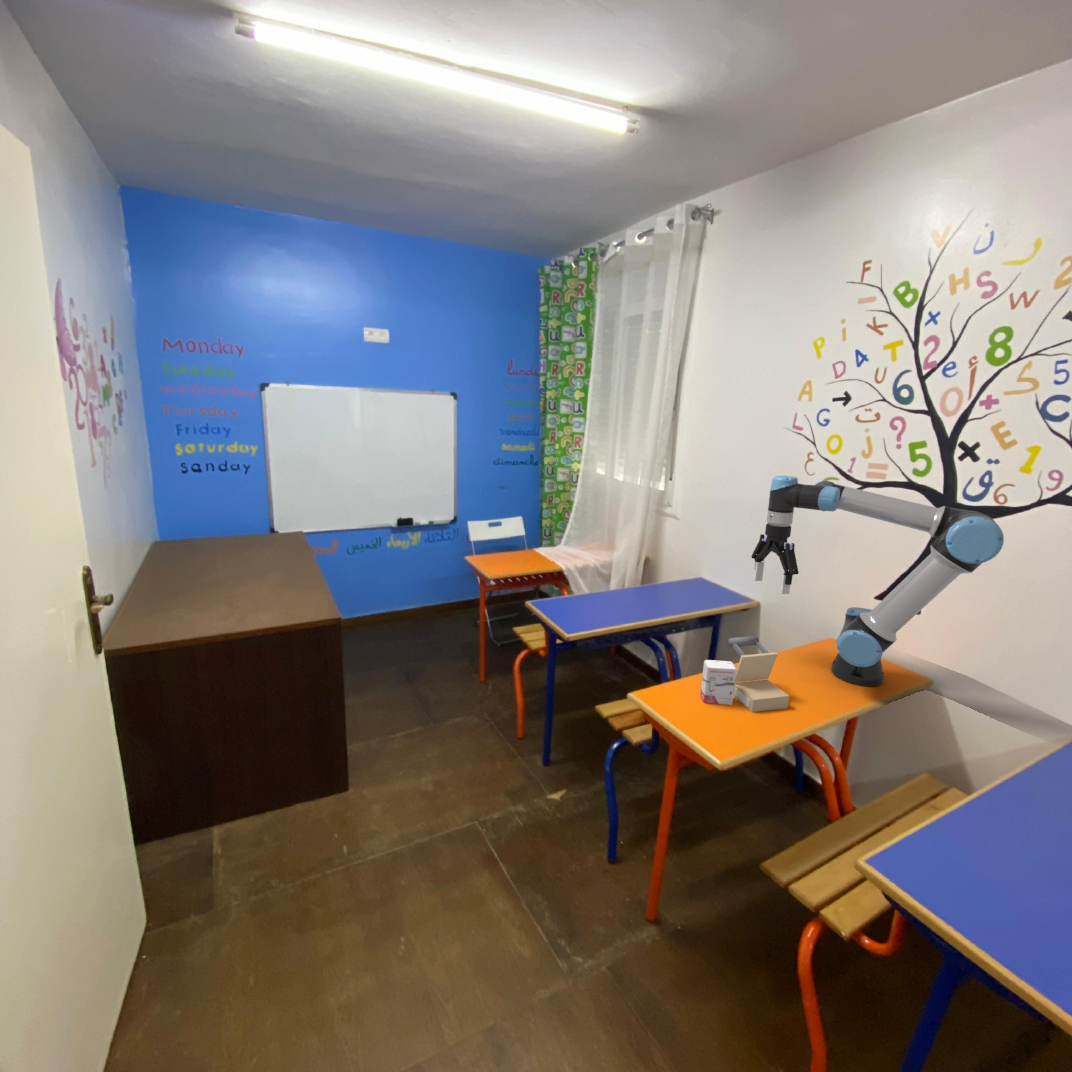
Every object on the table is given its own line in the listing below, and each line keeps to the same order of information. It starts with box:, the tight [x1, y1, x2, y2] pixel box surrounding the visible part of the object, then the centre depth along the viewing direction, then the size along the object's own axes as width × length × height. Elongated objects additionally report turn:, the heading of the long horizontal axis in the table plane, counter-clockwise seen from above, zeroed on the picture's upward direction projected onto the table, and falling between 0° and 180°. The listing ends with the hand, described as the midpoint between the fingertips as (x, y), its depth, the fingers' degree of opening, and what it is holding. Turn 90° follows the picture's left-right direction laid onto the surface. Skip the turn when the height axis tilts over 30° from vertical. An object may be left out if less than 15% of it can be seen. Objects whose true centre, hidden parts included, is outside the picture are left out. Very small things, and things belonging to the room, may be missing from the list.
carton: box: [733, 679, 790, 713], centre depth 160 cm, size 12×10×4 cm
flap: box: [727, 635, 778, 683], centre depth 166 cm, size 12×10×10 cm
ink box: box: [700, 659, 737, 706], centre depth 160 cm, size 9×5×12 cm, turn 85°
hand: (770, 586), depth 177 cm, fingers open, 13 cm apart
